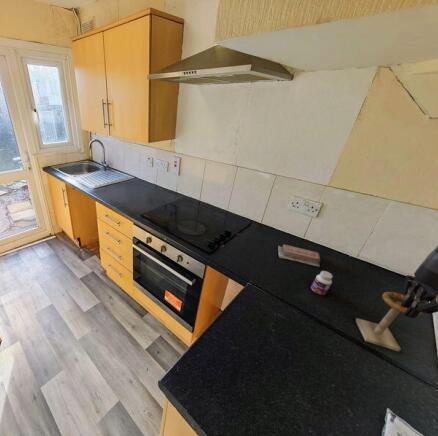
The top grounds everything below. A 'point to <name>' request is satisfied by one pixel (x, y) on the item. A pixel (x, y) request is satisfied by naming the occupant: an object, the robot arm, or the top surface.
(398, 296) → the ring
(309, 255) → the packaged product
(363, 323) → the wooden peg stand
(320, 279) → the pill bottle
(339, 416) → the top surface
